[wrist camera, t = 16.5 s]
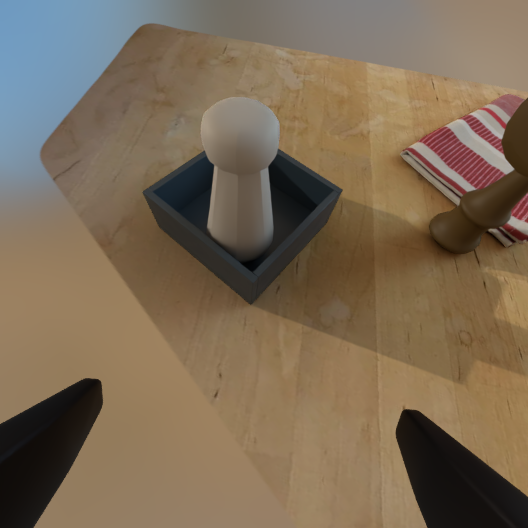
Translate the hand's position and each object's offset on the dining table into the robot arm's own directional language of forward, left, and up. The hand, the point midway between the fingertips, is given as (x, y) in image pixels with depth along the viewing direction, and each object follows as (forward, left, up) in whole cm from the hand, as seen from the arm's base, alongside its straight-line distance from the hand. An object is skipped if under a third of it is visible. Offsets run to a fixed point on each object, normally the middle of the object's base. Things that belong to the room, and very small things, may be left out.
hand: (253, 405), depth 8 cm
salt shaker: (+9, +9, -13) cm, 18 cm away
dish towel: (+42, -7, -14) cm, 45 cm away
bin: (+12, +11, -13) cm, 21 cm away
